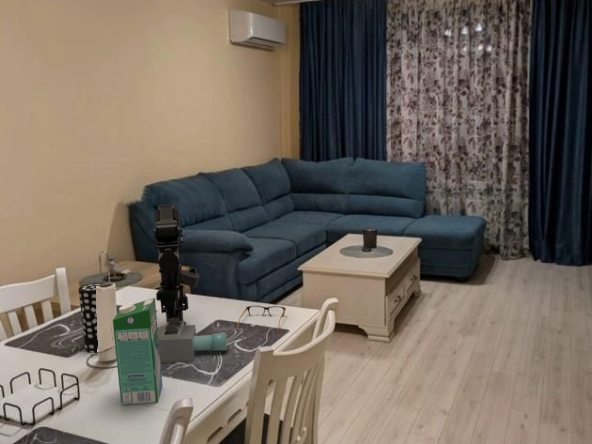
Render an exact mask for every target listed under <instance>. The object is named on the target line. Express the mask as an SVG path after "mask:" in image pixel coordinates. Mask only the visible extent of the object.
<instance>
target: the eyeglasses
mask: <svg viewBox="0 0 592 444" xmlns="http://www.w3.org/2000/svg"><path fill="white" fill-rule="evenodd" d="M254 307H255V308H256V307H257V308H261V309H264V310H263V313H262V315H261V316H262V317H263V316H264V315H265V312H266V311H267V312H268V314H269V315H270V317H272V314H271V313H270V309H271V308H281V309H282V313H281V314H280V317H279V321H278V325H277V327H278V328H277V332H279V330H280V323H281V319H282V318H283V317H284V316H285V313H286V309H287V308H286V307H283V306H280V305H279V306H277V305H276V306H275V305H274V306H266V307H265V306H261V305H249V306H246V307H245V309H244V311H242V314H241V315H240V316H239V317H238V318H239V319H238V322H237V327H236V330H237V329H238V330H239V327H240V320H241V318H242V317H243V315H244V314H245V313H246V311H247V312H248V315H249V316H250V317H252V316H253V315H252V314H251V313H250V309H251V308H254Z"/></svg>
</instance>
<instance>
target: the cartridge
mask: <svg viewBox="0 0 592 444" xmlns="http://www.w3.org/2000/svg"><path fill="white" fill-rule="evenodd" d="M193 348H194V351H195V352H199V351H212V352H219V351H221V352H222V351H227V333H226V332H221V333H219V332H218V333H211V334H210V335H208V334H207V335H196V336H193Z"/></svg>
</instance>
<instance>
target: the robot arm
mask: <svg viewBox="0 0 592 444" xmlns="http://www.w3.org/2000/svg"><path fill="white" fill-rule="evenodd" d="M153 220H154V224H153V225H154V227H153V241H154V245H153V246H154V250H158V266H159V269H158V273H159V274H160V282H159V286H160V288H159V289H158V290H157V292H156V294H155V301H156V302H158V301H159V302H160V309H161V310H160V311H161V314H165V320H166V321H165V322H166V323H167V322H169V319H170V318H175V317H177V318H179V321H184V311H187V310H188V309H189V297H188V296H187V295H186V293H185V292H184V287H185V285H186V286H188V287H191V288H193V289H197V286H198V282H199V279H200V276H201V275H200V273H199V272H198V271H197V268H196V267H193V266H192V267H190V268H189V269H186V270H185V269H183V267H182V265H181V264H180V255H179V254H180V253H179V248H181V247H182V244H184V240H183V239H184V238H183V229H182V228H181V221H180V211H179V210H178V209H176V208H174V204H163V205H162V204H161V205H158V206H157V209H156V210H155V211H154V212H153ZM184 325H187V322H186V321H184Z"/></svg>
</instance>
